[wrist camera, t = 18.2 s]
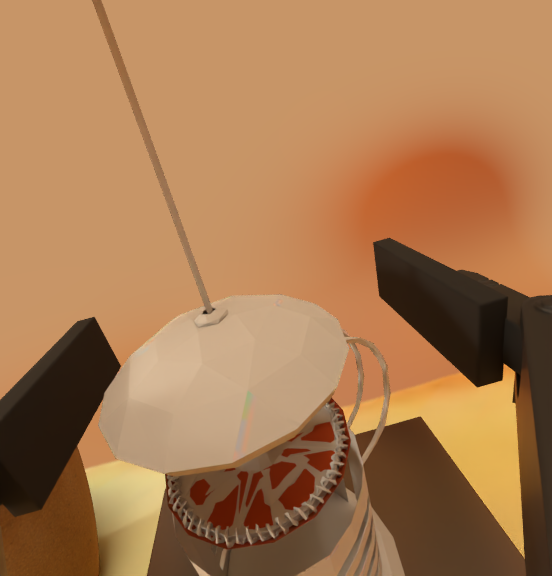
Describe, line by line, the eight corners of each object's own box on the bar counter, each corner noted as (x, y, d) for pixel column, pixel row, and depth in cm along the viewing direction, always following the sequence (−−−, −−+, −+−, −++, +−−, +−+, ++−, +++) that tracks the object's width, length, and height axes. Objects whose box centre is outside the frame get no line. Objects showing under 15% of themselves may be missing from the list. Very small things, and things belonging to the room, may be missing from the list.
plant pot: (137, 667, 21) (3, 531, 15) (-117, 811, 18) (-413, 716, 12) (149, 479, 35) (81, 366, 29) (3, 546, 32) (-109, 435, 26)
